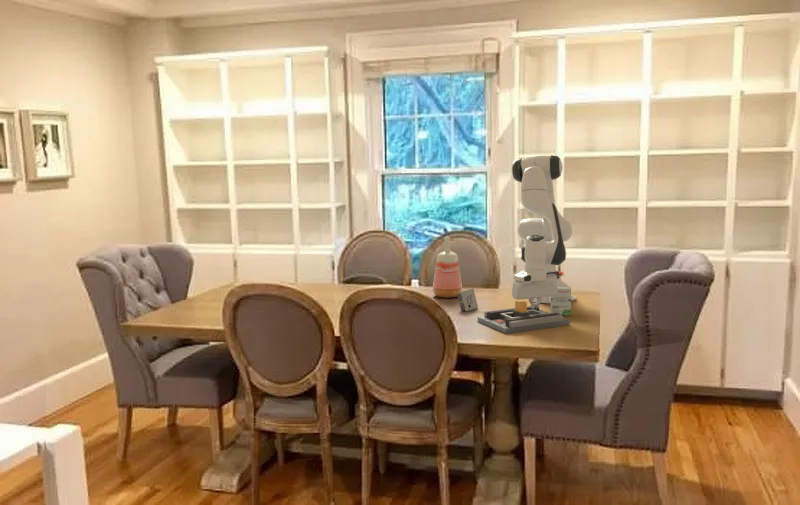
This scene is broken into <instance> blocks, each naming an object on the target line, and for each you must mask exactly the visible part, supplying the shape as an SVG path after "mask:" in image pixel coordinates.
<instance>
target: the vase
mask: <svg viewBox="0 0 800 505" xmlns="http://www.w3.org/2000/svg"><path fill="white" fill-rule="evenodd" d="M443 240H444V243H443V244H444V245H443V247H444V248H443V251H441V252H439V253H438V254H437V255H436V261H435V269H434V276H433V283H432V292H433V294H434V295H435V296H436V297H439V298H443V299H449V298H450V299H451V298H456V297H457V298H458V296H457V294H459V293H461V291H463V286H462V285H463V284H462V277H461V270H460V263H459V256H458V254H457V253H456V252H454V251H451V237H450V236H444V239H443Z"/></svg>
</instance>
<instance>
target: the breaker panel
mask: <svg viewBox="0 0 800 505" xmlns="http://www.w3.org/2000/svg"><path fill="white" fill-rule="evenodd" d="M527 311H528V312H529V315H527V316H534V315H541V314H549V313H550V312H547V311H544V310H541V309H539V311H537V310H534V309H533V310H527ZM519 317H526V316H519ZM510 318H518V317H513V312H509V313H501V314H500V317H499V318H491V319H490V318H487V317H485V316H484V315H483V316H482V315H481V316H477V322H478V323H479V324H482V325H485V326H487V327H488V328H489V327H490V328H492V329H494V330H496V331H498V332H500V333H503V334H515V333H522V332H528V331H536V330H542V329H549V328H556V327H565V326H571V320H570V319H568V318H564V317H563V321H557V322H550V323H543V324H535V325H528V326H520V327H513V328H511V327H509V326H507V325H506V319H510Z"/></svg>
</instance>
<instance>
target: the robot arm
mask: <svg viewBox="0 0 800 505" xmlns="http://www.w3.org/2000/svg"><path fill="white" fill-rule="evenodd" d="M563 166H564V165H563V162H562V160H561V157H560V156H558V155H553V154H551V155H535V156H529V157H520V158H517V159H515V160H513V162H512V165H511V175H512V177H513V180H515V181H516V182H519V183H521V184H520V199H521V205H522V206H523V208H524V209H525V210H527V211H528V212H529V213H530V214H531V213H532V214H534V215H537V216H539V217H530V218H524V219H522V220H521V221H519V223H518V225H517V234H518V237H519V238H520V239H521V240H523V241H524V243H523V244H521V246H520V249H521V258H520V259H521V260H522V262H524V263H525V264H524V270H521V271H520V272H517V273H515V274H513V280H514V282H512V288H511V296H512V298H513V299H514V300H516V301H517V300H521V301H522V300H528V302H529V304H530V306H531V308H532V309H534V308H539V309H540V304H551V296H556V295H557V293H558V287H570V285H568V283H566V282H565V281H563V280H562V279H561V278H560V277H563V276H564V272H563V271H561V270H559V271H558V270H557V266H559V265H561V264H563V263H564V262H565V261H566V258H567V249H566V245H565V243H564V242H567V241H569V240H570V239H571V237H572V234H573V227H572V224H571V223H570V221H569V220H568V219H566V218H565V217H564V216H563V215H562V214H561V213H560V211H559V210H558V208H557V205H556V199H555V193H554V192H555V191H554V181H555V180H556V179H559V178H560V177H561V176H562V172H563V168H564V167H563ZM540 217H541V218H540ZM576 300H577V297H576V296H574V295H572V294H571V302H572V301H576Z"/></svg>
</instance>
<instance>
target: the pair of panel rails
mask: <svg viewBox="0 0 800 505" xmlns="http://www.w3.org/2000/svg"><path fill="white" fill-rule="evenodd" d="M513 310H515V307H514V308H513V307H511V308H503V309H495V310H486V311H484V315H483V316H485V317H487V318H490V319H491V318H499V317H500V314H501V313H509V312H513ZM527 310H533V309H532V308H531V305H529V306H528V305H527ZM534 310H537V311H539V310H540V307H539V308H534ZM548 313H549V314H541V315H534V316H526V317H518V318H510V319H506V325H507V326H509V327H511V328H513V327H520V326H528V325H535V324H543V323H550V322H557V321H563V318H564V315H560V314H559V313H551V312H548Z"/></svg>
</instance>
